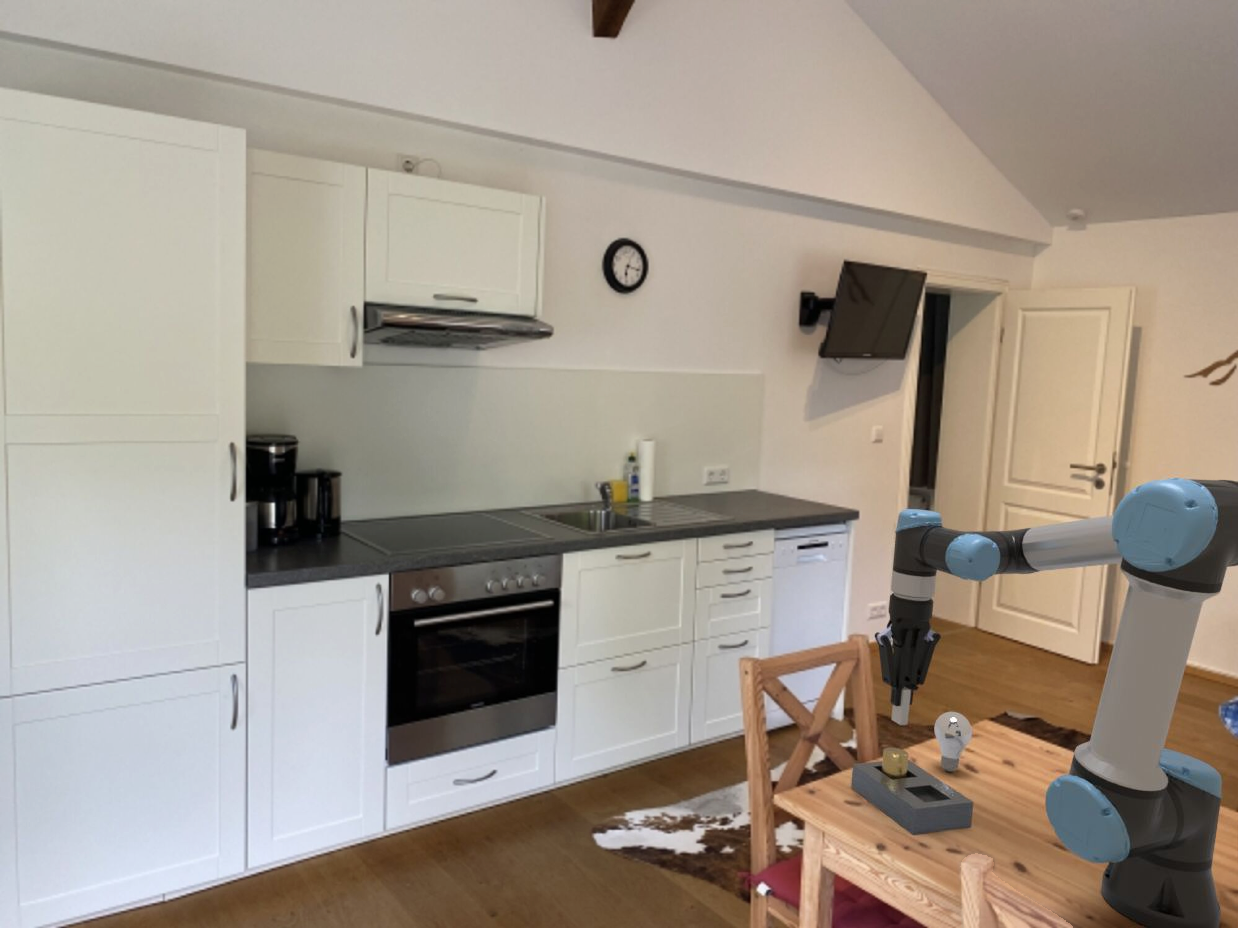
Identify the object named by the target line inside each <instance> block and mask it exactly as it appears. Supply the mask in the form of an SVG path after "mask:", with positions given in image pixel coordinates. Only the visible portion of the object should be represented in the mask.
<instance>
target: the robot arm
mask: <svg viewBox="0 0 1238 928" xmlns="http://www.w3.org/2000/svg"><path fill="white" fill-rule="evenodd" d="M942 519H943V517H942V515H941V514H940V513H939V512H937V511H934V510H933V511H932V510H925V509H914V508H907V509H903V510H901V511H900V512H899V513H898V516H897V520H896V521H897V523H896V529H895V531H894V533H895V538H894V539H895V540H894V549H893V550H894V551H893V562H892V571H891V583H890V591H891V592H892V593H891V594H890V595H889V603H888V614H889V615H888V616H889V620H888V622H887V624H886V629H884V630H883V631H882V632H877V631H876V633H875V634H874V639H875V641H876V643H877V645H878V651H879V661H880V670H881V678H882V682H883V683H884V684H886V685H888V686H890V687H891V689H890V690H891V692H890V704H891V705H892V711H891V721H893V722H895V724H898V725H899V726H906V725H908V724H909V723H908V722H909V712H910V706H912V704H913V700H914V691H918V689H919V686H923V685H924V684H925V681H926V678H927V674H928V671H929V668H930V664H931V663H932V658H933V655H934V652H935V648H936V646H937V644H938V643H939V641H940V639H941V638H942V637H941V634H940V633H938V632H936V631H934V630H932V628H931V627H932V626H931V622H930V620H931V619H932V618H933V612H934V611H933V609H934V600H933V599H932V598H933V597H934V596H935V592H936V582H937V572H938V571H939V572H941V573H945V574H948V575H952V576H954V577H956V578H960V579H962V580H965V581H969V580H971V581H974V582H984V581H987V580H988V579H989V578H990V577H992V576H995V575H1006V574H1007V575H1013V574H1014V575H1028V574H1029V575H1030V574H1035V573H1038V572H1043V571H1045V572H1046V571H1053V570H1055V571H1056V570H1063V569H1065V570H1066V569H1075V568H1084V567H1097V566H1104V565H1113V564H1114V565H1115V564H1116V565H1117V564H1120V566H1119V570H1120V571H1121V573H1122V574H1123V575H1124V577H1125V579H1126V580H1127V581H1128V587H1127V591H1126V595H1125V599H1124V602H1123V606H1122V607H1123V608H1122V611H1121V615H1120V620H1119V623H1118V627H1117V632H1116V635H1115V639H1114V642H1113V643H1114V644H1113V647H1112V652H1111V656H1110V660H1109V663H1108V667H1107V671H1106V676H1105V680H1104V683H1103V687H1102V690H1101V691H1102V692H1101V695H1100V699H1099V704H1098V707H1097V712H1096V714H1095V715H1096V716H1095V720H1094V724H1093V727H1092V731H1091V736H1090V739H1089V741H1087V742H1084V743H1081V744H1079V745H1077V746H1076V748H1075V750H1074V753H1073V756H1072V761H1071V764H1070V767H1069V771H1068V774H1062V775H1061V776H1058V777H1057V778H1056V779H1054V780H1053V781H1051V783H1050V784H1049V786H1048V788H1047V790H1046V792H1045V799H1044V800H1045V801H1044V802H1045V811H1046V815H1047V819H1048V821H1049V824H1050V825H1051V826H1052V827H1053V830H1054V834H1056V836H1057V838H1058V839H1059V840H1060V842H1061V843H1062V844H1063V845H1064V846H1065V847H1066V848H1067V849H1068V850H1069V851H1070V852H1071V853H1072V854H1074V855H1076V856H1077V857H1079V858H1080V859H1081V860H1084V861H1087V862H1091V863H1095V864H1106V863H1108V864H1107V866H1106V868H1105V870H1104V872H1103V874H1102V878H1101V885H1100V887H1101V888H1100V892H1101V895H1102V897H1103V898H1104V900H1105V901H1106V902H1107V903H1108V904H1109V905H1110V906H1111V907H1112V908H1113V909H1115V910H1116V911H1117V912H1119V914H1122V915H1123V916H1125V917H1126V918H1128V919H1130V920H1132V921H1134V922H1137V923H1138V924H1141V925H1143V926H1145V927H1147V928H1220V922H1221V915H1222V913H1221V912H1222V910H1221V906H1220V903H1219V901H1218V896H1217V890H1216V886H1215V880H1214V877H1213V871H1212V869H1213V868H1212V867H1213V859H1214V853H1215V851H1214V850H1215V845H1216V839H1217V838H1216V837H1217V830H1218V822H1219V815H1220V811H1221V810H1220V809H1221V802H1222V800H1223V795H1222V787H1223V786H1222V784H1223V779H1222V777H1221V774H1220V773H1219V771H1217V769H1215V768H1214V767H1213V766H1212V765H1210V764H1208V763H1206V762H1205V761H1202V760H1200V759H1198V758H1195V757H1194V756H1190V755H1188V754H1185V753H1182V752H1178V751H1175V750H1171V749H1168V748H1164V747H1165V744H1166V740H1167V737H1168V732H1169V728H1170V727H1171V726H1170V725H1171V721H1172V718H1173V714H1174V710H1175V706H1176V703H1177V700H1178V696H1179V692H1180V688H1181V686H1182V685H1181V684H1182V682H1183V681H1182V680H1183V677H1184V674H1185V673H1184V672H1185V669H1186V665H1187V661H1188V658H1189V655H1190V651H1191V647H1192V643H1193V640H1194V637H1195V633H1196V628H1197V626H1198V625H1197V624H1198V622H1199V618H1200V614H1201V610H1202V607H1203V603H1204V602H1205V601H1206V600H1209V599H1211V598H1213V597H1216V596H1217V595H1219V594H1220V593H1221V590H1222V587H1223V582H1224V580H1225V578H1226V577H1225V576H1226V573H1227V570H1228V567H1238V481H1235V480H1231V479H1198V478H1197V479H1196V478H1194V479H1191V478H1180V477H1173V478H1172V477H1171V478H1165V479H1159V480H1151V481H1148V482H1147V481H1146V482H1145V483H1142V484H1140V485H1138V486H1137V487H1135V488H1133V489H1132V490H1130V491H1129V492H1127V494H1126V495H1125V496H1124V497H1123V498H1122V499H1121V500H1120V502H1119V504H1118V505H1117V507H1116V509H1115V511H1114V514H1112V515H1110V514H1109V515H1106V516H1105V515H1104V516H1099V517H1093V518H1087V519H1086V518H1085V519H1078V520H1072V521H1066V522H1061V523H1054V524H1047V525H1040V526H1034V527H1027V528H1019V529H1012V530H1011V529H1010V530H988V531H987V530H984V531H983V530H975V531H974V530H973V531H972V530H971V531H963V530H956V529H952V528H947V527H944V526H943V523H942Z"/></svg>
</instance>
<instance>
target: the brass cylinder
mask: <svg viewBox="0 0 1238 928" xmlns="http://www.w3.org/2000/svg"><path fill="white" fill-rule="evenodd" d="M882 751H883V752H882V773H883V774H885V775H886V776H888V777H889V778H890V779H892V780H893V779H902V778H906V777H907V765H908V760H909V753H908V752H907V751H906V750H903V749H902V748H898V747H897V748H896V747H886V748H883V750H882Z"/></svg>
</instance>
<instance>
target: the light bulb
mask: <svg viewBox="0 0 1238 928" xmlns="http://www.w3.org/2000/svg"><path fill="white" fill-rule="evenodd" d="M934 734H935V738H936V740H937V742H938V743H939V748H940V749H939V750H940V754H941V757H940V758H941V759H940V766H941V767H942V769H943V770H945V772H947V773H948V774H949V773H953V772H955V771H957V770H958V768H959V766H960V765H959V764H960V758H961V756H962V753H963V750H964V749H965V747H967V745H968V744H969V743H970V741H971V739H972V736H973V729H972V725H971V723H970V721H969V720H968V718H967V717H966V716H965V715H963V714H961V713H960V712H957V711H946V712H944V713H942V714H940V715H939V717H938V718H937V719H936V721H935V723H934Z"/></svg>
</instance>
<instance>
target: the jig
mask: <svg viewBox="0 0 1238 928" xmlns="http://www.w3.org/2000/svg"><path fill="white" fill-rule="evenodd" d="M882 761H883V760H882ZM882 761H872V762H862V763H853V764H852V774H851V783H850V784H851V785H850V788H851V789H853V790H854V791H855V792H856V793H858V795H860V796H862V797H863V798H864V799H866V800H867V801H868V802H870V803H871V805H873V806H874V807H876V808H877V809H879V810H880V811H882V813H884V814H885V815H887V816H888V817H889V818H890V819H892V820H893V821H894V822H896V823H897V824H898V825H899V826H900V827H902V828H903V829H905V830H906V831H908V832H909V833H910V834H911V835H914V836H915V835H922V834H929V833H930V834H931V833H938V832H944V831H951V830H959V829H960V830H961V829H965V828H967V829H968V828H971V827H972V819H973V812H974V811H973V808H974V801H973V800H971V799H969V798H968V797H966V796H965V795H964V794H962V793H960V792H959V791H958V790H955V789H954V788H953V787H952V786H950V785H948V784H946V782H943V780H941V779H939V778H937V777H936V776H934V775H933V774H932V773H929V772H928V771H926V770H925V769H923V768H922V767H920V766H919V765H917V764H916V763H914V762H912V761H911V760H910V759H908V765H907V777H906V778H902V779H893V780H892V779H890V778H889V777H888V776H886V775H885V774H883V773H882Z"/></svg>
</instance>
